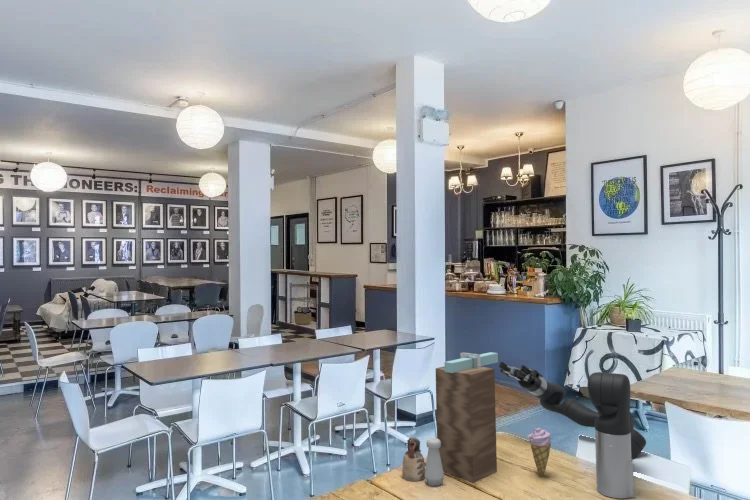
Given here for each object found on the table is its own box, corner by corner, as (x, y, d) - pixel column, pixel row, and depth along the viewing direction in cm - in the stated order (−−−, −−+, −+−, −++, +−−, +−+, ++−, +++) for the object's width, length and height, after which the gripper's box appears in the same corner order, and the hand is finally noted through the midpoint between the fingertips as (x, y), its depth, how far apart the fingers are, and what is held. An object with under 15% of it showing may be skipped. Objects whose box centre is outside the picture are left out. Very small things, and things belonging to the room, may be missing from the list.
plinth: (496, 471, 161) (494, 368, 162) (473, 482, 153) (470, 374, 154) (461, 459, 171) (459, 363, 172) (437, 469, 163) (435, 368, 164)
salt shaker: (443, 488, 149) (442, 443, 150) (423, 486, 151) (422, 442, 151) (444, 479, 155) (443, 436, 156) (425, 478, 156) (425, 435, 157)
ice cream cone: (527, 477, 156) (525, 427, 156) (531, 470, 161) (529, 422, 162) (550, 481, 153) (548, 430, 153) (553, 473, 158) (551, 424, 159)
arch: (480, 368, 163) (480, 354, 163) (477, 368, 162) (477, 355, 162) (463, 365, 168) (463, 352, 168) (460, 366, 167) (460, 352, 167)
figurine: (428, 473, 160) (427, 435, 160) (421, 483, 153) (420, 442, 154) (406, 470, 163) (405, 432, 163) (399, 479, 156) (398, 439, 156)
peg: (490, 361, 175) (490, 352, 175) (498, 362, 172) (497, 353, 172) (444, 371, 159) (444, 361, 159) (452, 373, 156) (451, 363, 156)
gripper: (548, 395, 183) (526, 379, 174) (513, 388, 194) (491, 373, 184) (552, 375, 186) (531, 358, 177) (518, 369, 196) (496, 353, 187)
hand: (511, 366), depth 181 cm, fingers open, 8 cm apart
